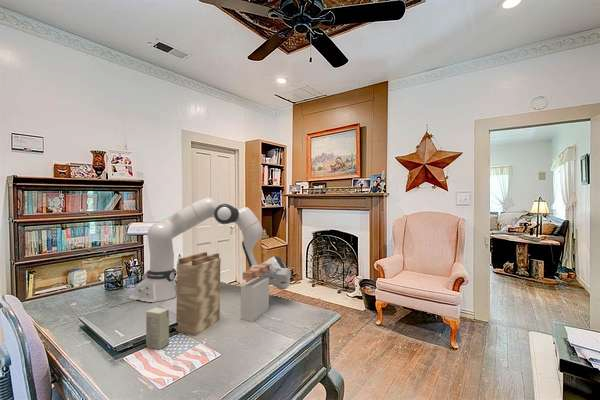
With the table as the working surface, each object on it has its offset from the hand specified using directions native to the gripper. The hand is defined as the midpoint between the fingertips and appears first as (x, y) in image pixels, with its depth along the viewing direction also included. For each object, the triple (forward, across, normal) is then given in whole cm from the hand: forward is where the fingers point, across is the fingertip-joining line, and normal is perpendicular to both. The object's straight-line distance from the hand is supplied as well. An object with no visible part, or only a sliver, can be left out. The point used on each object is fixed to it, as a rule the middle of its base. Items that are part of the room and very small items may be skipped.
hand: (264, 266), depth 134 cm
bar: (+4, 0, +5) cm, 7 cm away
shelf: (-2, 0, +21) cm, 21 cm away
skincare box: (+29, -18, +39) cm, 52 cm away
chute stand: (+14, -16, +30) cm, 36 cm away
